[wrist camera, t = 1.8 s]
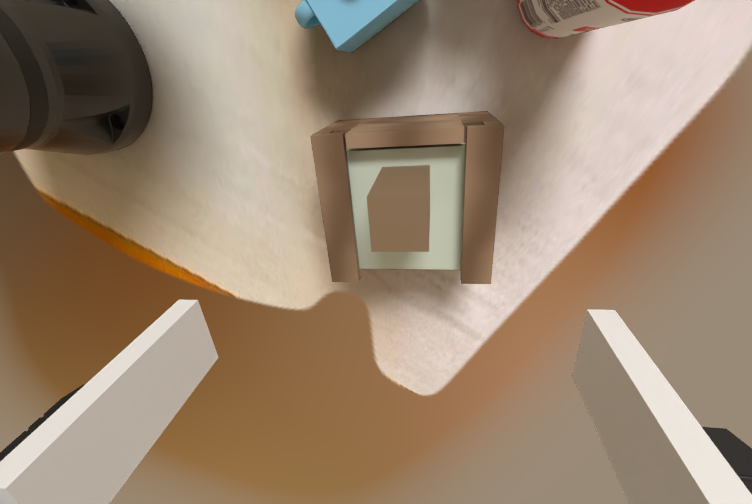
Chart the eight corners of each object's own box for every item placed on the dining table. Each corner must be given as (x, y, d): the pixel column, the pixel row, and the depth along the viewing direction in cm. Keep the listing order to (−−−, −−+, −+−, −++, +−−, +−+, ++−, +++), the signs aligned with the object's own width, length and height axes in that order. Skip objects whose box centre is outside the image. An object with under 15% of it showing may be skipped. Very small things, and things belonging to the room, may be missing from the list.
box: (351, 240, 38) (332, 281, 30) (338, 120, 32) (310, 135, 25) (479, 239, 36) (490, 283, 28) (487, 111, 30) (504, 125, 23)
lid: (352, 263, 32) (330, 318, 25) (339, 148, 27) (306, 177, 20) (470, 263, 30) (481, 323, 23) (476, 142, 26) (493, 171, 19)
